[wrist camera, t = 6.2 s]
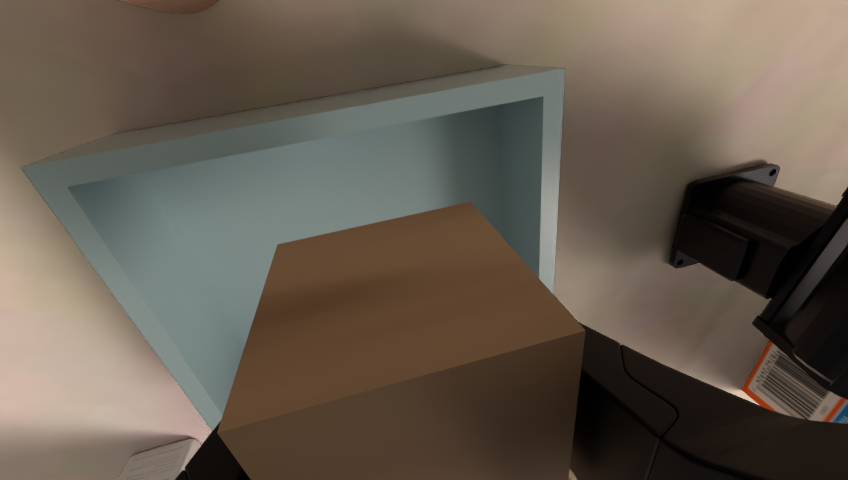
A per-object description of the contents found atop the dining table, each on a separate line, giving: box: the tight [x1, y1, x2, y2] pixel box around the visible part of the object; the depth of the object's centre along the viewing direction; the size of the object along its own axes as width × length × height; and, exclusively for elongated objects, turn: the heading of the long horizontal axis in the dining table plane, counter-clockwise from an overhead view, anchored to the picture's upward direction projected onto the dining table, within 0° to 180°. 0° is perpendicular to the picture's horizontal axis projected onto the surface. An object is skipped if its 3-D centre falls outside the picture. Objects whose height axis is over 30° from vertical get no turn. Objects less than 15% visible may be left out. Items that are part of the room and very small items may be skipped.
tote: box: [20, 65, 565, 431], centre depth 17 cm, size 18×16×5 cm
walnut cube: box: [217, 202, 585, 480], centre depth 8 cm, size 5×5×5 cm
